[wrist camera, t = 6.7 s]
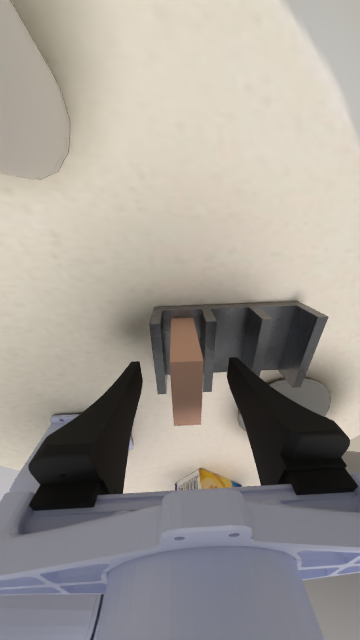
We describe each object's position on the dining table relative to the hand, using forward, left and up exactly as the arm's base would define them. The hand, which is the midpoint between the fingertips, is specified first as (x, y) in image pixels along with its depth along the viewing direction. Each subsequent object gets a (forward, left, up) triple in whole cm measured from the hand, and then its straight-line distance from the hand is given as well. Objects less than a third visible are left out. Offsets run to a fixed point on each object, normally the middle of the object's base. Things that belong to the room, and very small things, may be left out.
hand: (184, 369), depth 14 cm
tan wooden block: (0, 0, -3) cm, 3 cm away
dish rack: (+4, 0, -4) cm, 6 cm away
